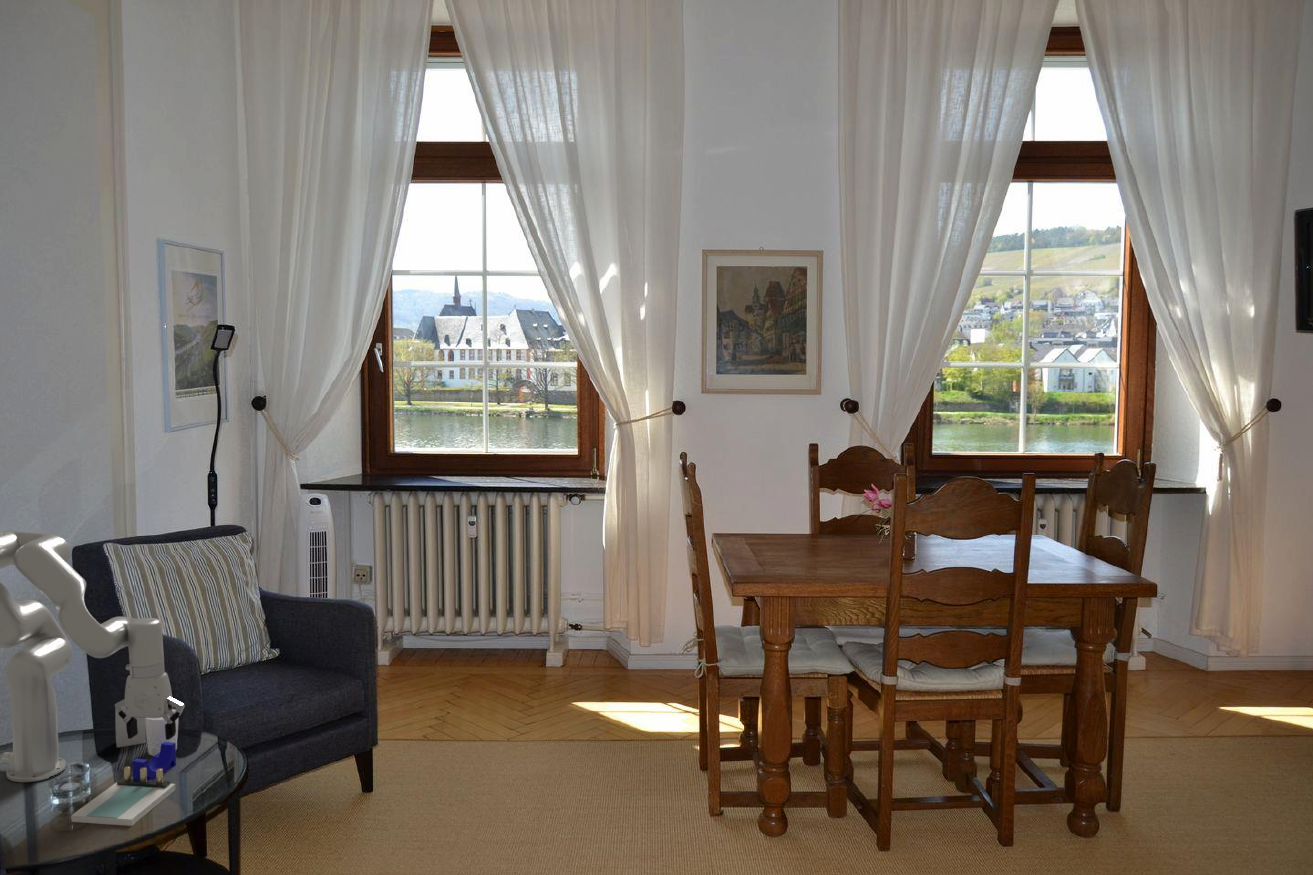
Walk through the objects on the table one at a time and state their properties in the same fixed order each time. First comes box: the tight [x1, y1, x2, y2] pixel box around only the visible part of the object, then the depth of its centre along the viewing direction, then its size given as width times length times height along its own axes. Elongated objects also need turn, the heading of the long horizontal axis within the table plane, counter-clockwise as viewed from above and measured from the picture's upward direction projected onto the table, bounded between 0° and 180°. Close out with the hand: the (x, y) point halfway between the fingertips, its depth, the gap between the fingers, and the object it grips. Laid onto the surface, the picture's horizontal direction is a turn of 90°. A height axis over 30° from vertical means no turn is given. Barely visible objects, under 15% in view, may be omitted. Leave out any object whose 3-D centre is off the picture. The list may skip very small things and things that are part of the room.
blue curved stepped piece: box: [132, 742, 177, 780], centre depth 256 cm, size 12×4×6 cm, turn 169°
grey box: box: [114, 706, 147, 748], centre depth 274 cm, size 4×7×10 cm, turn 120°
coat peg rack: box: [116, 765, 171, 788], centre depth 247 cm, size 12×2×4 cm, turn 86°
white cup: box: [145, 708, 179, 757], centre depth 269 cm, size 8×8×10 cm
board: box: [70, 781, 176, 827], centre depth 239 cm, size 14×18×2 cm
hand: (151, 736), depth 255 cm, fingers open, 9 cm apart
